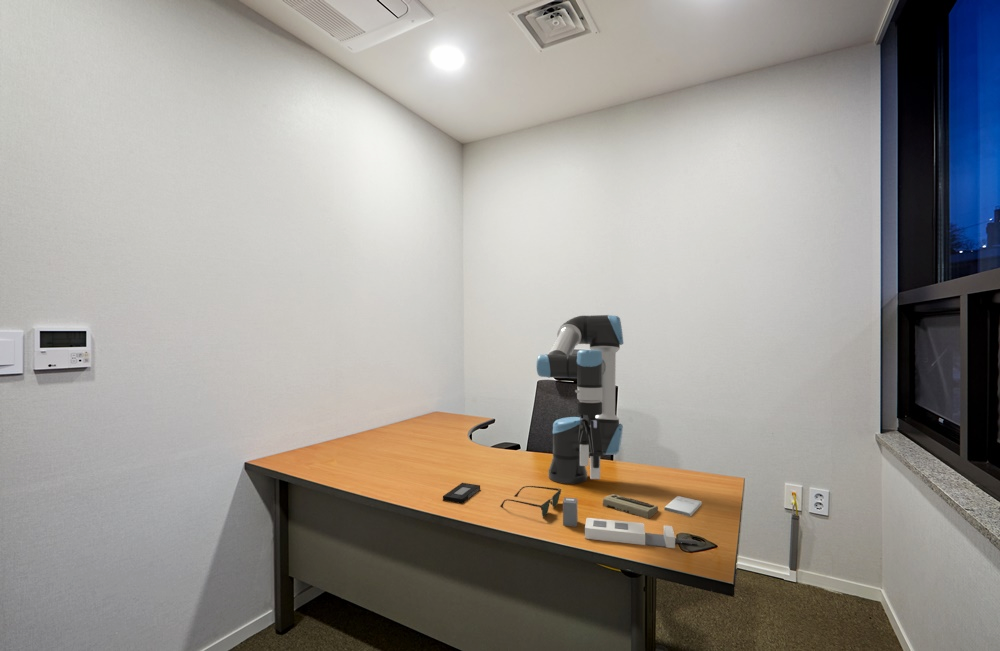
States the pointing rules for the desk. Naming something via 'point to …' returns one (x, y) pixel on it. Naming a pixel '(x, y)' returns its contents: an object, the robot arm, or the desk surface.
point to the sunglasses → (544, 506)
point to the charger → (570, 512)
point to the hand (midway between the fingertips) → (589, 471)
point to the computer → (630, 506)
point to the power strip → (630, 533)
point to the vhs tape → (461, 493)
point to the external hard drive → (683, 506)
